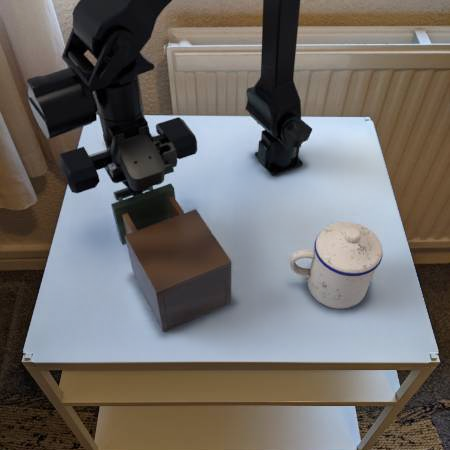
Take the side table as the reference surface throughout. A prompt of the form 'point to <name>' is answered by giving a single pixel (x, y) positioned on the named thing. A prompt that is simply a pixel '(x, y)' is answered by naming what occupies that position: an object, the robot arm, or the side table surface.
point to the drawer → (144, 209)
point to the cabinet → (180, 269)
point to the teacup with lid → (340, 264)
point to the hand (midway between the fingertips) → (137, 197)
